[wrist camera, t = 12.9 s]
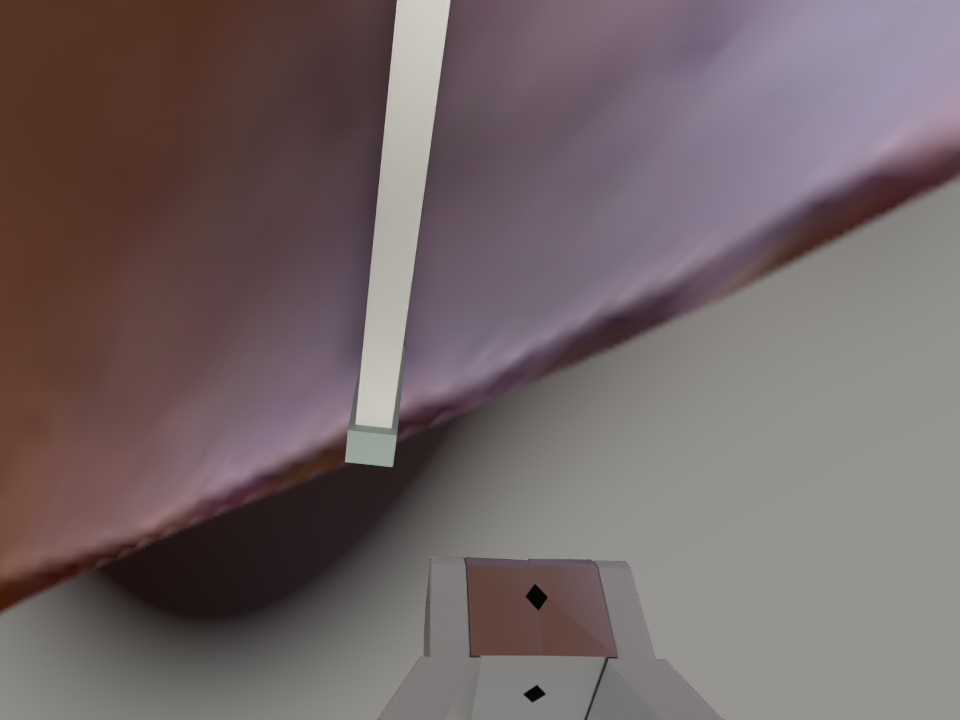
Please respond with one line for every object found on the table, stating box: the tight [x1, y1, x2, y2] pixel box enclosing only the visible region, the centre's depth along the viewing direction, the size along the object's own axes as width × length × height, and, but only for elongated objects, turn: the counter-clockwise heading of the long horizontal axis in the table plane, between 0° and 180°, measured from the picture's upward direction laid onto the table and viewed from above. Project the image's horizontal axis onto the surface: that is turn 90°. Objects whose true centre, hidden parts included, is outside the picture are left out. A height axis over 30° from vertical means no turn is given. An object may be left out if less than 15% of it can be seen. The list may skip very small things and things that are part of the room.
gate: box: [345, 0, 450, 467], centre depth 28 cm, size 20×2×6 cm, turn 170°
